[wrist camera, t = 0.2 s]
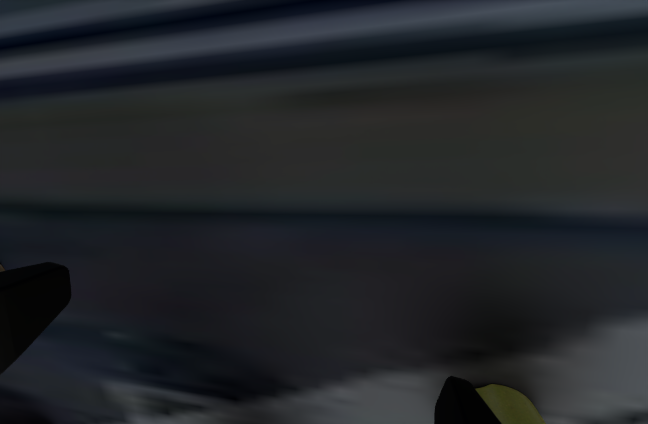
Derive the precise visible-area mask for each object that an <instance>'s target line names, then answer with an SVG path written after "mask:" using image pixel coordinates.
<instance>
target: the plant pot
mask: <svg viewBox="0 0 648 424" xmlns="http://www.w3.org/2000/svg"><path fill="white" fill-rule="evenodd" d="M475 389H476V391H477V392H478V393H479V394H480V396H481V397H482V398H483V400H484V401H485V402H486V404H487V405H488V406H489V408H490V409H491V410H492V411H493V413H494V414H495V415H496V417H497V418H498V419H499V421H500V422H501V423H502V424H546V423H545V422H544V420H543V419H542V417H541V416H540V414H539V412H538V411H537V409H536V408H535V406H534V405H533V404H532V402H531V401H530V400H529V399H528V398H527V397H526V396H525V395H523V394H522V393H520V392H519V391H517V390H514V389H512V388H509V387H506V386H502V385H496V384H490V385H488V386H486V387H482V388H475Z"/></svg>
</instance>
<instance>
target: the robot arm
mask: <svg viewBox="0 0 648 424" xmlns="http://www.w3.org/2000/svg"><path fill="white" fill-rule="evenodd" d="M70 299H71V285H70V275H69V270H68V268H67V267H65V266H63V265H59V264H56V263H52V262H46V263H41V264H36V265H31V266H26V267H21V268H16V269H11V270H7V271H2V272H0V375H1V374H2V373H3V372H4V371H5V370H6V369H7V368H8V367H9V366H10V365H11V364H12V363H13V362H14V361H16V360H17V359H18V357H19V356H20V355H21V354H22V353H23V352H24V351H25V350H26V349H27V348H28V347H29V346H30V345H31V344H32V343H33V342H34V340H35V339H36V338H37V337H38V336H39V335H40V334H41V333H42V332H43V331H44V330H45V329H46V328H47V326H48V325H49V324H50V323H51V322H52V321H53V320H54V319H55V318H56V317H57V316H58V315H59V313H60V312H61V311H62V310H63V309H64V308H65V307H66V306H67V305H68V303H69V301H70ZM434 424H502V423H501V422H500V421H499V419H498V418H497V417H496V415H495V414H494V413H493V411H492V410H491V409H490V408H489V406H488V405H487V404H486V402H485V401H484V400H483V398H482V397H481V396H480V394H479V393H478V392H477V391H476V389H475V388H474V387H473V385H472V384H471V383H470V382H469V381H467V380H464V379H461V378H457V377H454V376H450V377H448V378H447V379H446V381H445V384H444V386H443V388H442V391H441V393H440V395H439V398H438V400H437V402H436V406H435V413H434Z"/></svg>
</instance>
